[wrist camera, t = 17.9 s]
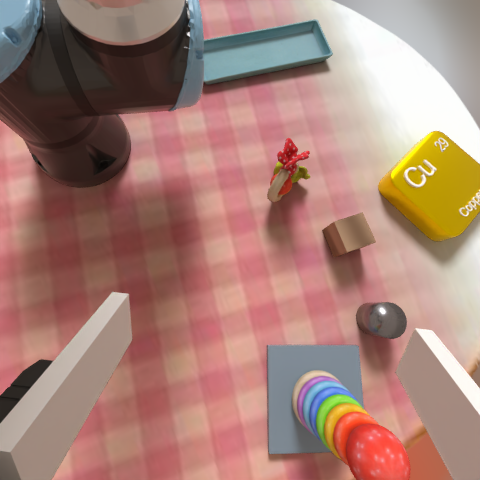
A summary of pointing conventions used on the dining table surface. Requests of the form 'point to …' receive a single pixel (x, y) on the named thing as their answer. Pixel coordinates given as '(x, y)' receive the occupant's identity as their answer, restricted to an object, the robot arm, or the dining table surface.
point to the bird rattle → (287, 171)
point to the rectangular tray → (264, 51)
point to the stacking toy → (348, 428)
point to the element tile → (435, 187)
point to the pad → (283, 382)
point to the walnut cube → (348, 234)
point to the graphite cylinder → (381, 319)
